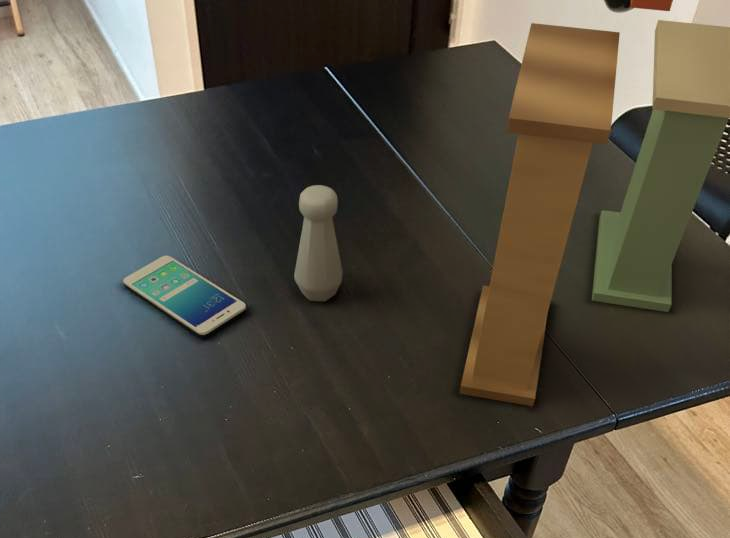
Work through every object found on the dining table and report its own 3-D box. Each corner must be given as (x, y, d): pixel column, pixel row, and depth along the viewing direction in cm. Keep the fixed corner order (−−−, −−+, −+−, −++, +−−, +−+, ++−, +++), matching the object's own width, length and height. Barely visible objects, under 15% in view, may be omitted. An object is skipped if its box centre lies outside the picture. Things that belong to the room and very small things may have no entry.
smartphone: (166, 253, 103) (249, 305, 97) (167, 259, 104) (249, 310, 98) (119, 280, 100) (201, 335, 94) (121, 285, 101) (202, 341, 95)
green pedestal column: (599, 217, 110) (658, 19, 90) (668, 227, 108) (743, 28, 89) (591, 300, 99) (656, 96, 80) (668, 312, 98) (752, 108, 79)
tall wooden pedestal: (481, 293, 100) (531, 22, 76) (547, 303, 99) (619, 32, 75) (459, 393, 90) (508, 117, 66) (533, 406, 89) (610, 130, 64)
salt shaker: (288, 300, 99) (284, 201, 89) (303, 273, 103) (300, 173, 92) (334, 310, 98) (336, 210, 88) (348, 281, 101) (351, 182, 91)
